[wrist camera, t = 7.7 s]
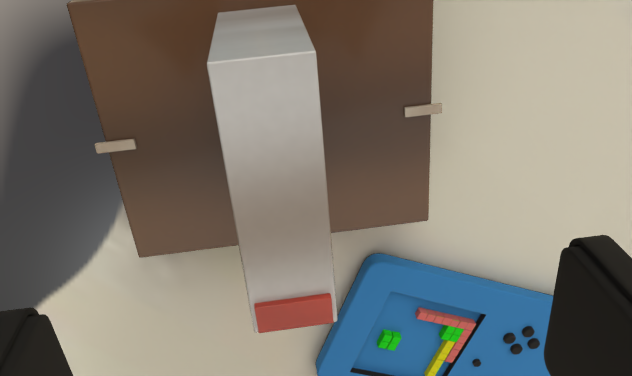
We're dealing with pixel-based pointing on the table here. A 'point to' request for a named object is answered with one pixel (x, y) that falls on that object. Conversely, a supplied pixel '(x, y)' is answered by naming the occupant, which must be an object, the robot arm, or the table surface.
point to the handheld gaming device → (435, 325)
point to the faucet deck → (201, 125)
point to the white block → (275, 164)
